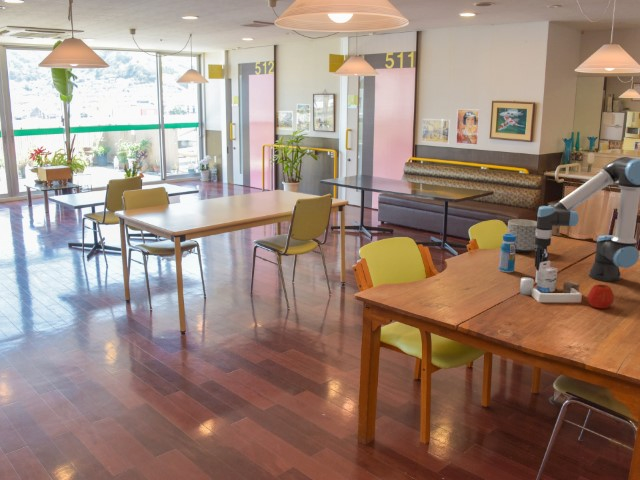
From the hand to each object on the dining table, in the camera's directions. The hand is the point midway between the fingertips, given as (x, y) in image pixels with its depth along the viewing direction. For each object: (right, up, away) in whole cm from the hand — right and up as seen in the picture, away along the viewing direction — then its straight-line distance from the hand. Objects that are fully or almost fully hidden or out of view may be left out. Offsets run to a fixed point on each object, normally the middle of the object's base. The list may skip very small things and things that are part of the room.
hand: (538, 282), depth 309 cm
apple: (+17, -9, -30) cm, 36 cm away
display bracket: (+1, -6, -20) cm, 21 cm away
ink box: (0, -4, -9) cm, 10 cm away
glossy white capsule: (-10, -4, -13) cm, 17 cm away
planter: (+14, +14, +67) cm, 70 cm away
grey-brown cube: (+12, -5, -12) cm, 17 cm away
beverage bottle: (-9, +4, +24) cm, 26 cm away
